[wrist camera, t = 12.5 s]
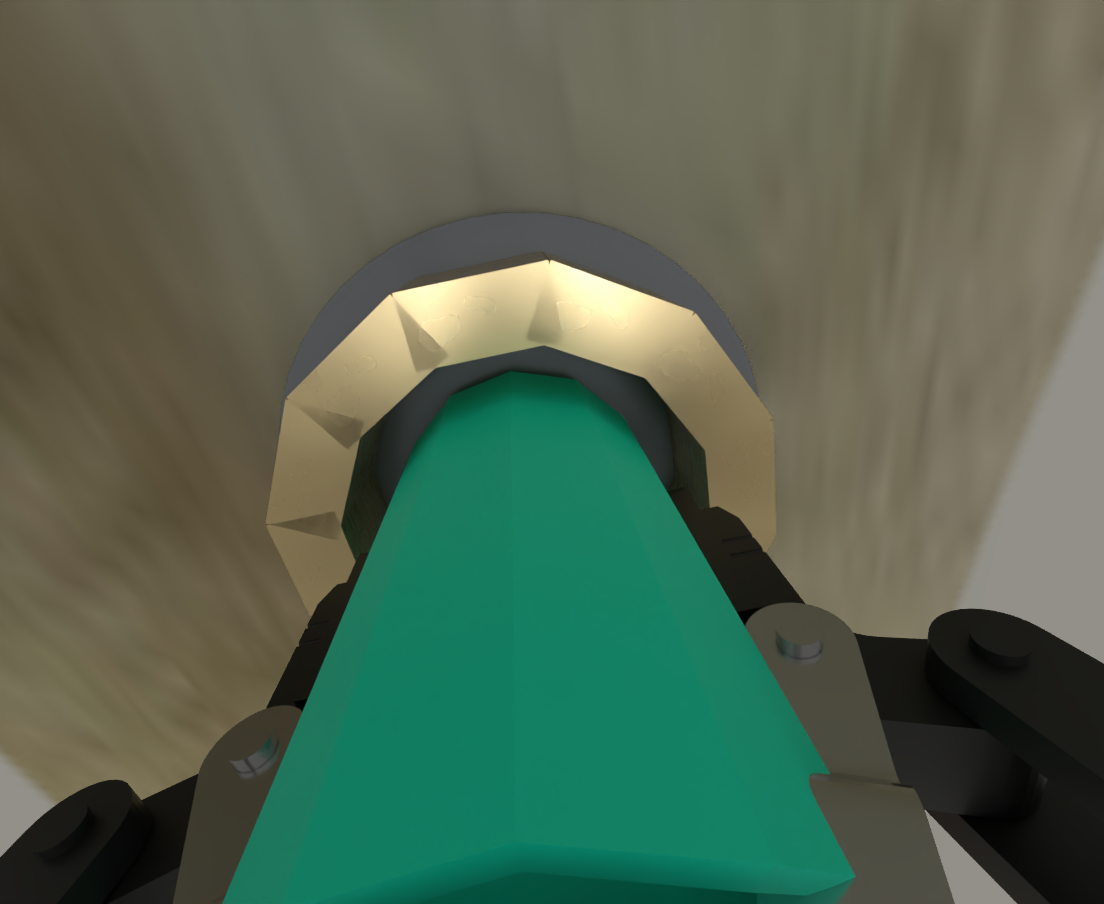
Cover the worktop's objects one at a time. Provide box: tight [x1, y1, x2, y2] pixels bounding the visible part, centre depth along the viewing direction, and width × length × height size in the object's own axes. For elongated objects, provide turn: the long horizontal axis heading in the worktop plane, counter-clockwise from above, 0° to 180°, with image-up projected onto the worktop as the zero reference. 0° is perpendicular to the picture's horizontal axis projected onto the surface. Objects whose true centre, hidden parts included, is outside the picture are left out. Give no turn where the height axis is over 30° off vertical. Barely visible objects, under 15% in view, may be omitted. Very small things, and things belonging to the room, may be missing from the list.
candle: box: [222, 371, 856, 904], centre depth 8 cm, size 6×6×12 cm
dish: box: [279, 213, 758, 507], centre depth 15 cm, size 13×13×1 cm
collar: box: [266, 251, 776, 617], centre depth 13 cm, size 11×11×3 cm
